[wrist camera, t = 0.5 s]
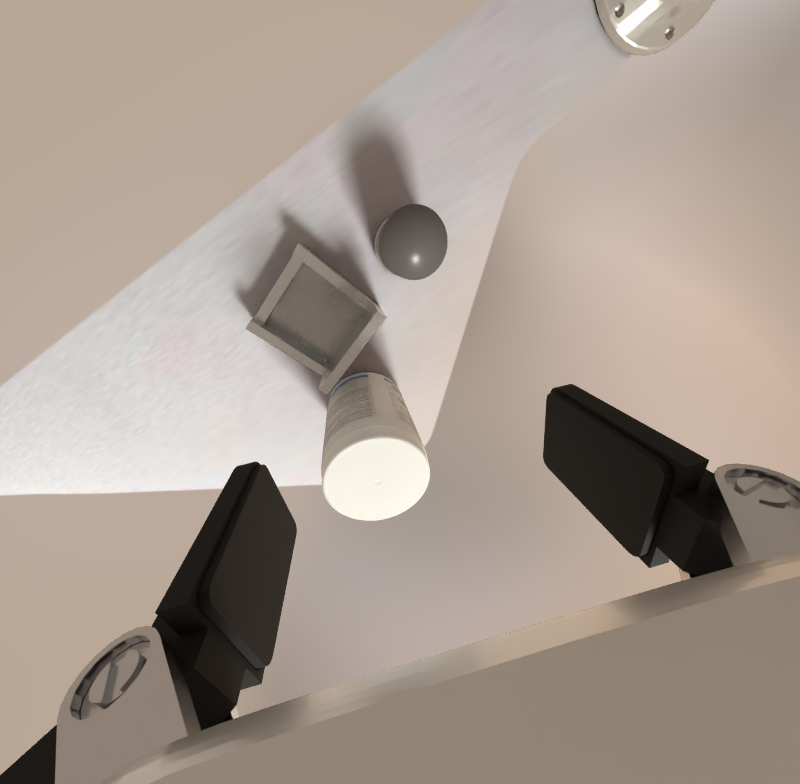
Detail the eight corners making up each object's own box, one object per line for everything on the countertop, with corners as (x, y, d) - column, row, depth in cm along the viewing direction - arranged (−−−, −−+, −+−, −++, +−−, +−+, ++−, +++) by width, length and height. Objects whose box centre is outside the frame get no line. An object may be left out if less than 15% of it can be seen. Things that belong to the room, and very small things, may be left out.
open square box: (303, 245, 28) (290, 241, 22) (379, 306, 32) (386, 317, 26) (255, 322, 31) (231, 338, 24) (331, 370, 34) (327, 395, 28)
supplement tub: (325, 431, 38) (313, 523, 24) (331, 365, 34) (320, 431, 21) (396, 436, 40) (419, 523, 27) (409, 373, 36) (443, 439, 23)
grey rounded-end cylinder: (397, 201, 28) (411, 184, 22) (438, 243, 30) (462, 238, 24) (362, 251, 29) (366, 249, 23) (404, 288, 32) (418, 295, 25)
